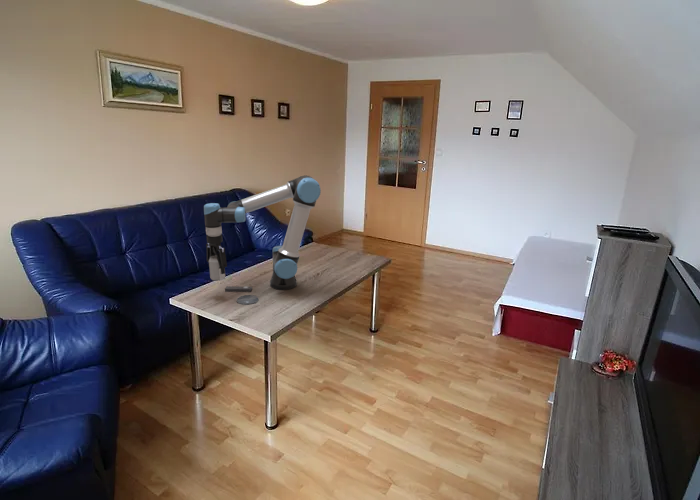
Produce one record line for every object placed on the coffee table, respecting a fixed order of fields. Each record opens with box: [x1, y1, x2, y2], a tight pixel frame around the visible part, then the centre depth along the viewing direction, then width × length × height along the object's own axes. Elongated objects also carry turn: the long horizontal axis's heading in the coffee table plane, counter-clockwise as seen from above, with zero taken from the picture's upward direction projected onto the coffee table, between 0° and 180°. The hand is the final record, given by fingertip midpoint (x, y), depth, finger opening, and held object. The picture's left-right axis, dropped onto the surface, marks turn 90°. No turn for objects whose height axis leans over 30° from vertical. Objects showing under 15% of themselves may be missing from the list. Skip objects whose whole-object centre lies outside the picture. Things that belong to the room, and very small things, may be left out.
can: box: [208, 255, 226, 282], centre depth 205 cm, size 8×8×12 cm
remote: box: [224, 285, 253, 293], centre depth 220 cm, size 14×4×2 cm, turn 94°
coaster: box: [236, 294, 259, 306], centre depth 208 cm, size 11×11×1 cm
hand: (218, 277), depth 207 cm, fingers closed on can, 7 cm apart
